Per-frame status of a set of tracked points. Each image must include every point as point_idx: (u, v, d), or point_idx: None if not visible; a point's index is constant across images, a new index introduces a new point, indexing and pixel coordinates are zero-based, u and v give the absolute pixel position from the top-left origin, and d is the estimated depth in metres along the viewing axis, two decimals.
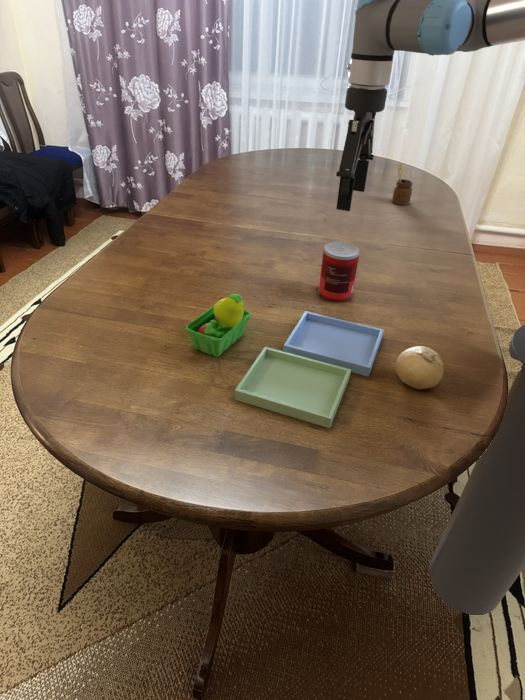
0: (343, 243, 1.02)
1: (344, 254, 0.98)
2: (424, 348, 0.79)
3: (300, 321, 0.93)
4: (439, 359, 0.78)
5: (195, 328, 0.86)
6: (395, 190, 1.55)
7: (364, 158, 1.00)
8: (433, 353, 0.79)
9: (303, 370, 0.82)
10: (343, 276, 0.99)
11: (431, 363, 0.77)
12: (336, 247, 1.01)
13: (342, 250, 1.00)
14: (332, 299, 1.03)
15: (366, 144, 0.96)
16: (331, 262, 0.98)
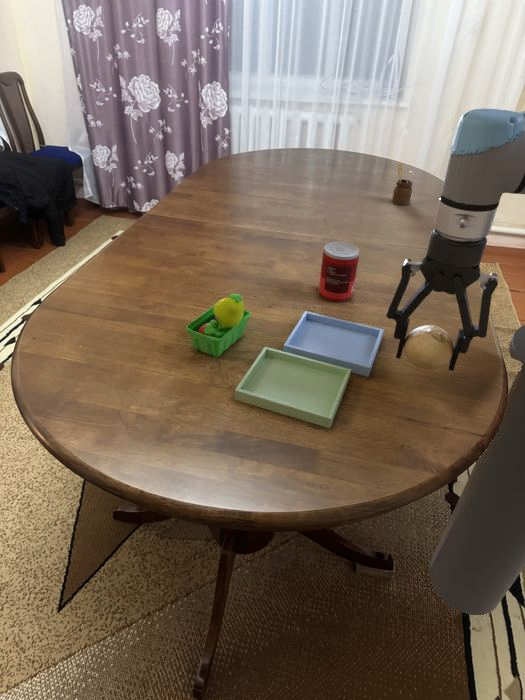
0: (343, 243, 1.02)
1: (344, 254, 0.98)
2: (433, 327, 0.77)
3: (300, 321, 0.93)
4: (449, 337, 0.76)
5: (195, 328, 0.86)
6: (395, 190, 1.55)
7: None
8: (442, 332, 0.76)
9: (303, 370, 0.82)
10: (343, 276, 0.99)
11: (441, 341, 0.74)
12: (336, 247, 1.01)
13: (342, 250, 1.00)
14: (332, 299, 1.03)
15: None
16: (331, 262, 0.98)
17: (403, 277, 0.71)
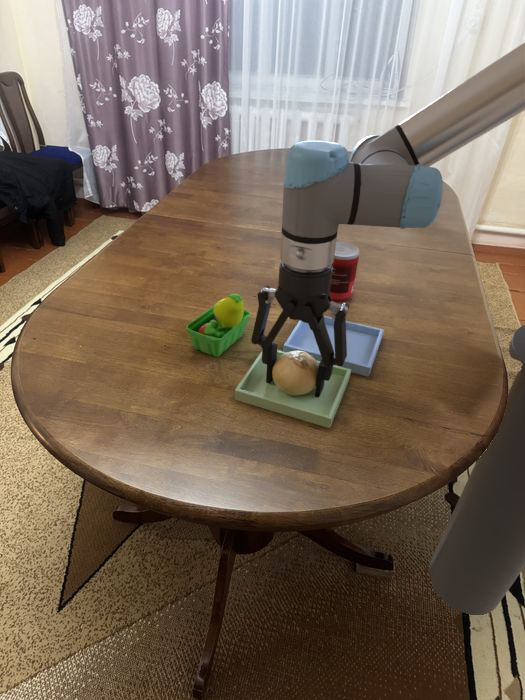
0: (343, 243, 1.02)
1: (344, 254, 0.98)
2: (298, 353, 0.76)
3: (300, 321, 0.93)
4: (313, 364, 0.75)
5: (195, 328, 0.86)
6: None
7: (271, 344, 0.76)
8: (307, 358, 0.75)
9: None
10: (343, 276, 0.99)
11: (302, 368, 0.74)
12: (336, 247, 1.01)
13: (342, 250, 1.00)
14: (332, 299, 1.03)
15: None
16: None
17: (260, 304, 0.71)
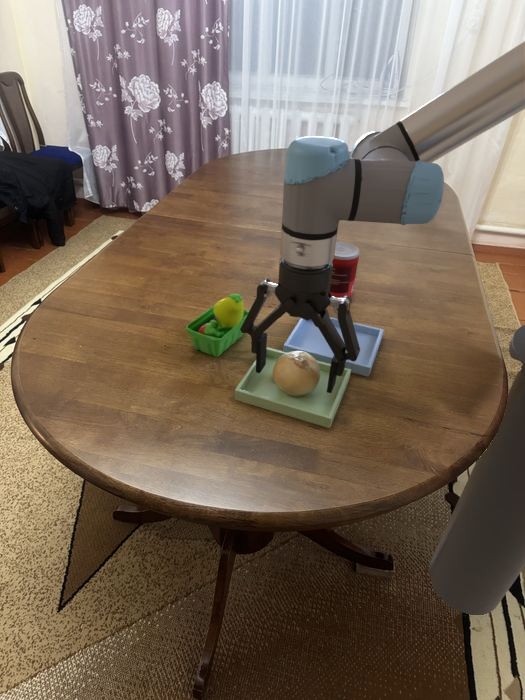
0: (343, 243, 1.02)
1: (344, 254, 0.98)
2: (299, 353, 0.76)
3: (300, 321, 0.93)
4: (314, 364, 0.75)
5: (195, 328, 0.86)
6: None
7: (260, 333, 0.76)
8: (307, 358, 0.75)
9: None
10: (343, 276, 0.99)
11: (303, 368, 0.74)
12: (336, 247, 1.01)
13: (342, 250, 1.00)
14: None
15: None
16: None
17: (258, 296, 0.70)
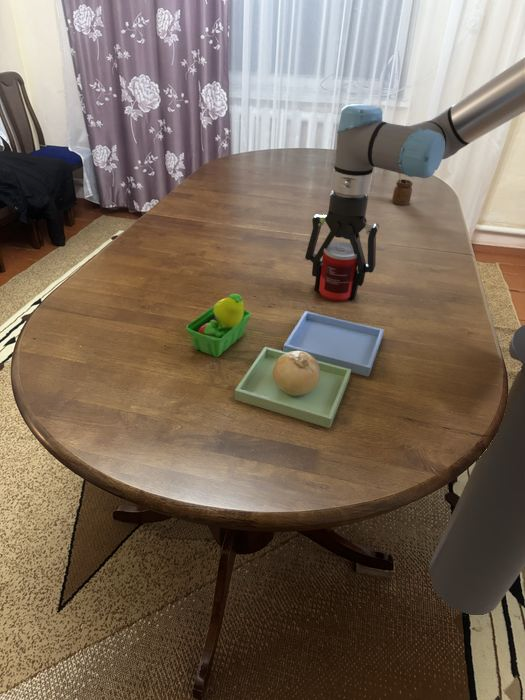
0: (343, 243, 1.02)
1: (344, 254, 0.98)
2: (299, 353, 0.76)
3: (300, 321, 0.93)
4: (314, 364, 0.75)
5: (195, 328, 0.86)
6: (395, 190, 1.55)
7: (319, 260, 1.03)
8: (307, 358, 0.75)
9: None
10: (343, 276, 0.99)
11: (303, 368, 0.74)
12: (336, 247, 1.01)
13: (342, 250, 1.00)
14: (332, 299, 1.03)
15: None
16: (331, 262, 0.98)
17: (314, 227, 0.98)
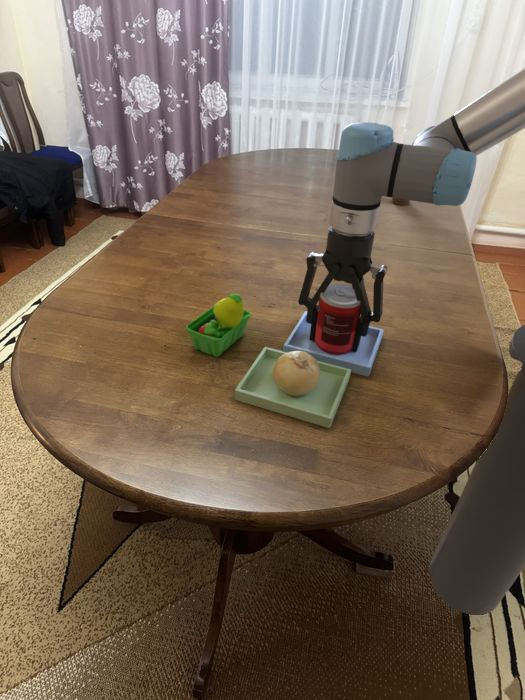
0: (344, 285, 0.86)
1: (345, 300, 0.82)
2: (299, 353, 0.76)
3: (300, 321, 0.93)
4: (314, 364, 0.75)
5: (195, 328, 0.86)
6: None
7: (315, 305, 0.87)
8: (307, 358, 0.75)
9: None
10: (344, 327, 0.82)
11: (303, 368, 0.74)
12: (335, 291, 0.84)
13: (342, 295, 0.83)
14: (330, 352, 0.86)
15: None
16: (329, 310, 0.81)
17: (308, 267, 0.81)
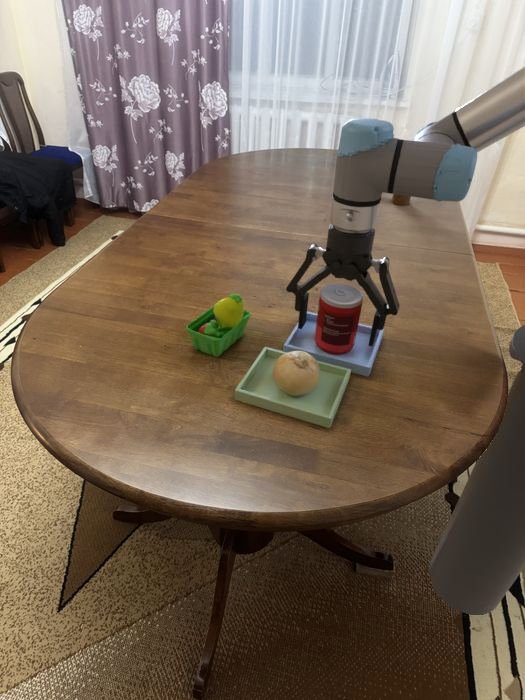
0: (343, 285, 0.86)
1: (345, 300, 0.82)
2: (299, 353, 0.76)
3: None
4: (314, 364, 0.75)
5: (195, 328, 0.86)
6: None
7: None
8: (307, 358, 0.75)
9: None
10: (344, 327, 0.82)
11: (303, 368, 0.74)
12: (335, 290, 0.84)
13: (342, 295, 0.83)
14: (330, 352, 0.86)
15: None
16: (329, 310, 0.81)
17: (306, 259, 0.80)
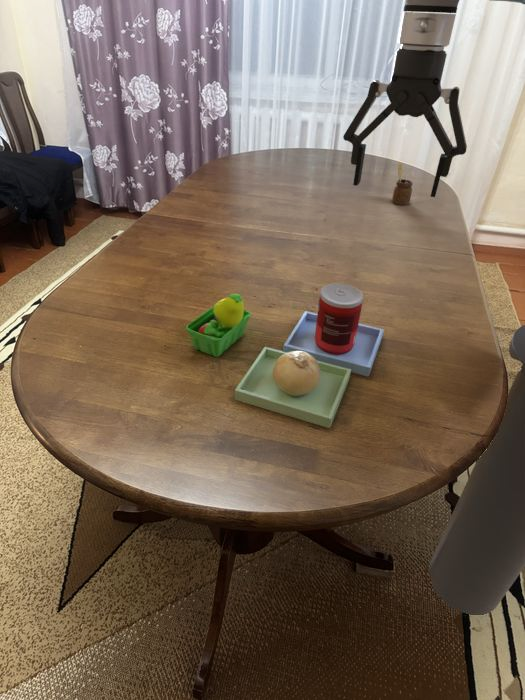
0: (343, 285, 0.86)
1: (345, 300, 0.82)
2: (299, 353, 0.76)
3: (300, 321, 0.93)
4: (314, 364, 0.75)
5: (195, 328, 0.86)
6: (395, 190, 1.55)
7: (361, 143, 0.81)
8: (307, 358, 0.75)
9: None
10: (344, 327, 0.82)
11: (303, 368, 0.74)
12: (335, 290, 0.84)
13: (342, 295, 0.83)
14: (330, 352, 0.86)
15: None
16: (329, 310, 0.81)
17: (369, 95, 0.76)
